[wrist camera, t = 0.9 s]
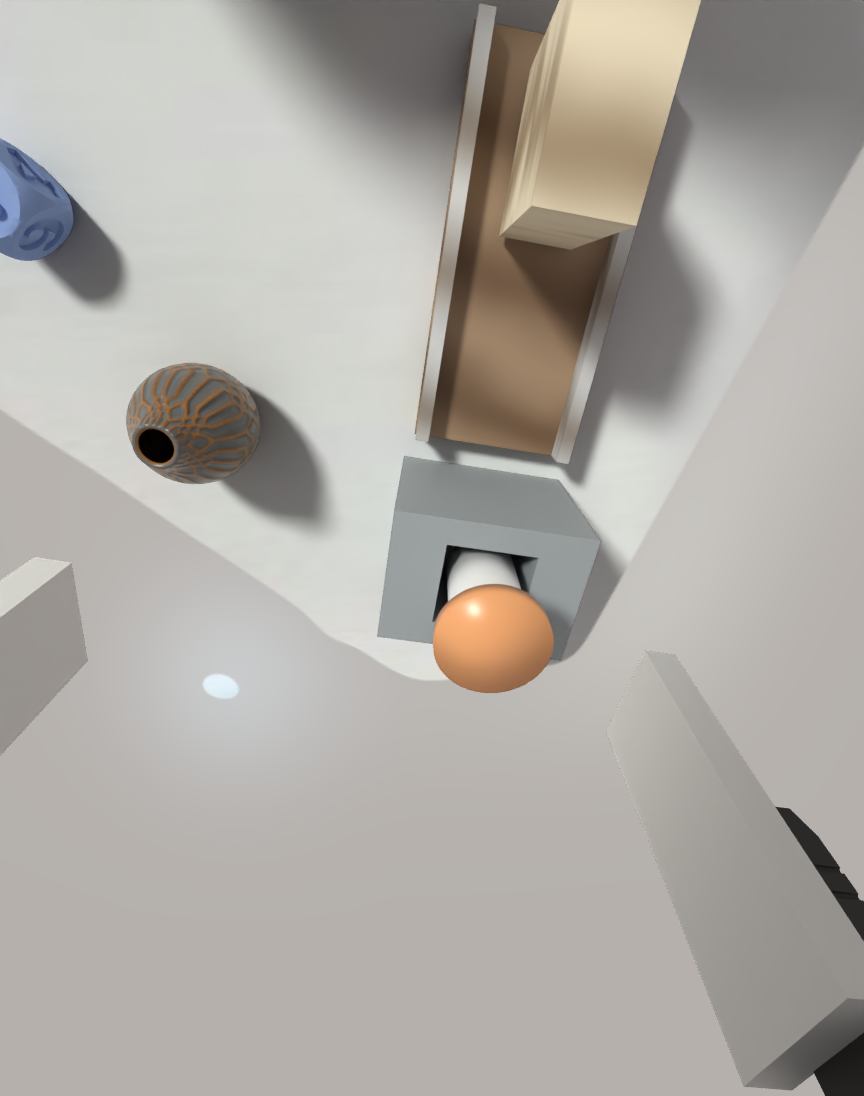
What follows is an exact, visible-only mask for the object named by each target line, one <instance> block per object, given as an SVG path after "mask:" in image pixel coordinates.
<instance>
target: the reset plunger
mask: <svg viewBox="0 0 864 1096" xmlns="http://www.w3.org/2000/svg"><path fill="white" fill-rule="evenodd" d="M446 569H447V589H448V602H447V603H446V604H445V606H444V607H443V608H442V609H441V611H440V612H439V614H438V616H437V618H436V621H435V625H434V631H433V648H434V656H435V659H436V662H437V664H438V666H439V668H440V669H441V671H442V672H443V673H444V674H445V675H446V676H447V677H448V678H449V679H450V680H451V681H453V682H454V683H456V684H457V685H459V686H461V687H463V688H466V689H469V690H472V691H476V692H482V693H498V692H505V691H509V690H512V689H515V688H518V687H520V686H523V685H525V684H526V683H528V682H529V681H531V680H533V679H534V678H535V677H536V676H538V675H539V673H541V671H542V670H543V669H544V668H545V667H546V665H547V663H548V662H549V660H550V657H551V655H552V651H553V646H554V637H553V632H552V628H551V625H550V623H549V620H548V617H547V615H546V612H545V610H544V609H543V607H542V605H541V604H540V603H539V602H538V601H537V600H536V599H535V598H534V597H533V596H532V595H530V594H529V593H527V592H525V591H523V590H521V587H520V584H519V580H518V577H517V574H516V571H515V567H514V564H513V561H512V558H511V555H510V554H508V553H501V552H495V551H488V550H481V549H474V548H467V547H460V546H455V547H454V548H453V549H452V550H451V552H450V553H449V556H448V558H447V563H446Z"/></svg>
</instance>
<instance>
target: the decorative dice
mask: <svg viewBox="0 0 864 1096" xmlns="http://www.w3.org/2000/svg"><path fill="white" fill-rule="evenodd" d="M73 222H74V221H73V211H72V206H71V203H70V199H69V197H68V195H67V193H66V192H65V191H64V189H63V188H62V187H61V186H60V184H59V183H58V182H57V181H56V180H55V179H54V178H53V177H52V176H51V175H50V174H49V173H48V172H47V171H46V170H45V169H43V168H42V167H41V166H40V165H39V164H38V163H36V162H35V161H34V160H33V159H31V158H30V157H29V156H27V155H26V154H25V153H23V152H22V151H21V150H19V149H18V148H16V147H15V146H13V145H11V144H10V143H8V142H6V141H4V140H2V139H0V253H2V254H5V255H7V256H9V257H12V258H15V259H18V260H24V261H32V260H37V259H40V258H43V257H45V256H47V255H49V254H50V253H52V252H53V251H55V250H56V249H57V248H59V247H60V246H61V245H62V244H63V243H64V241H65V240H66V239H67V237H68V236H69V234H70V232H71V230H72V227H73Z"/></svg>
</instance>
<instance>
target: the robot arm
mask: <svg viewBox="0 0 864 1096" xmlns="http://www.w3.org/2000/svg"><path fill="white" fill-rule="evenodd" d="M87 661H88V660H87V654H86V647H85V641H84V635H83V629H82V624H81V617H80V611H79V605H78V599H77V593H76V587H75V581H74V575H73V568H72V563H70V562H63V561H57V560H49V559H43V558H37V557H34V558H33V559H31V560H30V561H28V562H27V563H25V564H24V565H22V566H21V567H20V568H18V569H16V570H15V571H14V572H12V573H11V574H9V575H8V576H6V577H5V578H3V579H2V580H0V755H1V754H2V753H3V752H4V751H5V750H6V749H7V748H8V747H9V746H10V745H11V744H12V742H13V741H14V740H15V739H16V738H17V737H18V736H19V735H20V734H21V733H22V732H23V730H24V729H25V728H26V727H27V726H28V725H29V724H30V723H31V722H32V721H33V720H34V719H35V717H36V716H37V715H38V714H39V713H40V712H41V711H42V710H43V709H44V708H45V707H46V706H47V704H48V703H49V702H50V701H51V700H52V699H53V698H54V697H55V696H56V695H57V693H58V692H59V691H60V690H61V689H62V688H63V687H64V686H65V685H66V684H67V683H68V682H69V681H70V679H71V678H72V677H73V676H74V675H75V674H76V673H77V672H78V671H79V669H81V667H82V666H83V665H84V664H85V663H86V662H87ZM606 733H607V736H608V739H609V741H610V743H611V746H612V749H613V751H614V753H615V756H616V759H617V762H618V764H619V767H620V769H621V772H622V775H623V777H624V780H625V782H626V785H627V787H628V790H629V793H630V795H631V798H632V800H633V803H634V805H635V808H636V811H637V813H638V816H639V818H640V821H641V823H642V826H643V829H644V831H645V834H646V836H647V839H648V841H649V844H650V847H651V849H652V852H653V854H654V857H655V859H656V862H657V865H658V867H659V869H660V872H661V875H662V878H663V880H664V882H665V885H666V888H667V890H668V893H669V896H670V898H671V901H672V903H673V906H674V908H675V911H676V914H677V916H678V918H679V921H680V924H681V926H682V929H683V932H684V934H685V937H686V939H687V942H688V944H689V947H690V950H691V952H692V955H693V957H694V960H695V962H696V965H697V968H698V970H699V973H700V975H701V978H702V980H703V983H704V986H705V988H706V991H707V993H708V996H709V998H710V1001H711V1004H712V1006H713V1009H714V1011H715V1014H716V1017H717V1019H718V1022H719V1024H720V1027H721V1029H722V1032H723V1035H724V1037H725V1040H726V1042H727V1045H728V1047H729V1050H730V1053H731V1055H732V1057H733V1060H734V1062H735V1065H736V1068H737V1071H738V1073H739V1076H740V1078H741V1081H742V1083H743V1086H744V1087H757V1088H769V1089H781V1090H793V1089H794V1088H796V1087H797V1086H798V1085H799V1084H801V1083H802V1082H803V1081H805V1080H806V1079H807V1078H808V1077H810V1076H811V1075H813V1074H815V1076H816V1078H817V1080H818V1082H819V1084H820V1086H821V1088H822V1090H823V1092H824V1094H825V1096H864V901H861V900H859V898H858V893H857V892H856V890H855V888H854V887H853V885H852V884H851V883H850V881H849V880H848V878H847V877H846V876H845V874H842V873H841V872H840V870H839V869H840V867H839V866H838V864H837V863H836V861H835V860H834V858H833V857H832V856H831V854H830V853H829V851H828V850H827V848H826V847H825V846H824V844H823V843H822V841H821V840H820V839H819V837H818V836H817V835H816V834H815V833H814V832H813V831H812V830H811V829H810V828H809V827H808V826H807V825H806V824H805V823H804V822H803V821H802V820H801V819H800V818H799V817H798V816H797V815H796V814H794V813H793V812H792V811H791V810H790V809H788V808H780V807H775V806H774V804H773V803H772V801H771V800H770V798H769V797H768V795H767V794H766V792H765V791H764V789H763V788H762V786H761V785H760V783H759V782H758V780H757V778H756V777H755V775H754V774H753V773H752V771H751V769H750V768H749V766H748V765H747V763H746V762H745V760H744V759H743V757H742V756H741V754H740V753H739V751H738V750H737V748H736V747H735V745H734V743H733V742H732V741H731V739H730V737H729V736H728V735H727V733H726V731H725V730H724V728H723V727H722V725H721V724H720V722H719V721H718V719H717V718H716V716H715V715H714V713H713V712H712V710H711V708H710V707H709V705H708V704H707V702H706V701H705V700H704V698H703V696H702V695H701V693H700V692H699V690H698V689H697V687H696V686H695V684H694V683H693V681H692V680H691V678H690V677H689V675H688V674H687V672H686V670H685V669H684V668H683V666H682V664H681V663H680V661H679V660H678V658H677V657H676V656H675V655H673V654H667V653H660V652H653V651H646V650H645V651H644V653H643V655H642V657H641V659H640V662H639V664H638V666H637V668H636V670H635V672H634V674H633V676H632V678H631V681H630V683H629V685H628V687H627V689H626V691H625V693H624V695H623V698H622V700H621V702H620V704H619V706H618V708H617V710H616V712H615V714H614V716H613V719H612V720H611V723H610V725H609V727H608V729H607V731H606Z"/></svg>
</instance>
